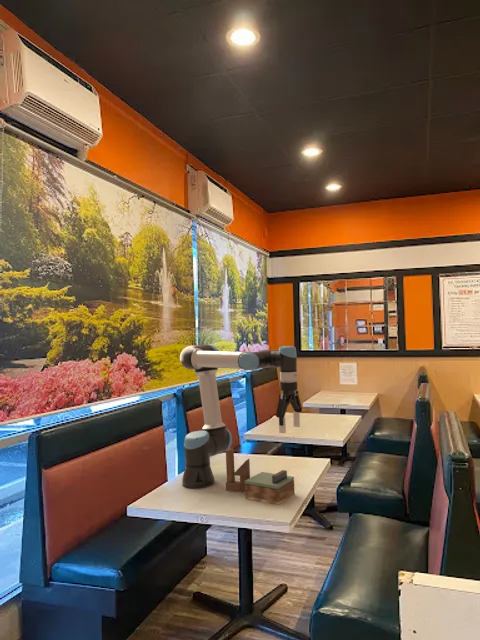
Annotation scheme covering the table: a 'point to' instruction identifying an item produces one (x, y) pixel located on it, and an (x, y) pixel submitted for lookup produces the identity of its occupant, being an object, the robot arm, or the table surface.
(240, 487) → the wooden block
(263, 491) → the wooden box
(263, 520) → the table surface
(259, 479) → the lid
